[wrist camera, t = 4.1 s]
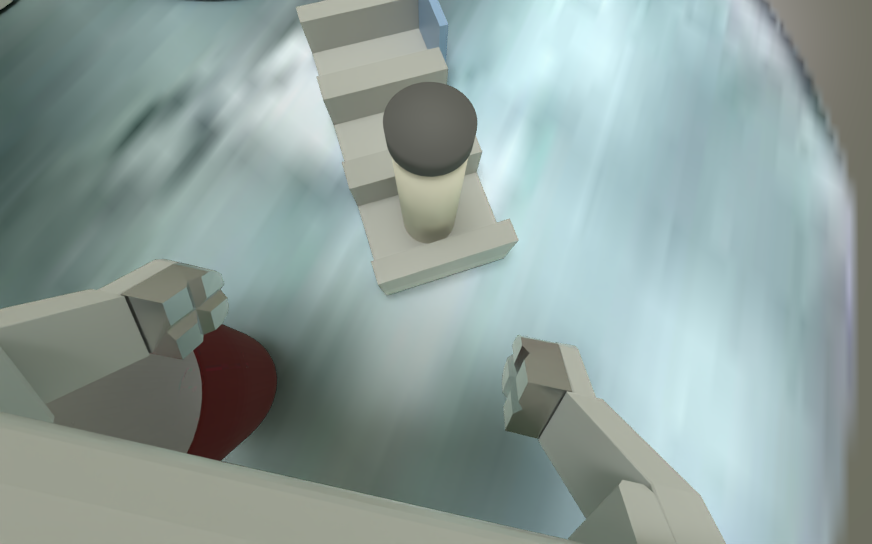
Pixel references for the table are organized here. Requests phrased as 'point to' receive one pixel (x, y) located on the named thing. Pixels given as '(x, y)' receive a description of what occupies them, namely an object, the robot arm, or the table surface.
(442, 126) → the grey-capped cream cylinder
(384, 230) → the stepped cream block
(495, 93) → the table surface
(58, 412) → the mug
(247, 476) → the robot arm
